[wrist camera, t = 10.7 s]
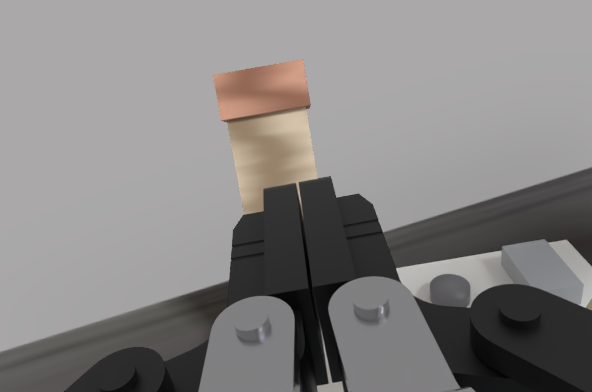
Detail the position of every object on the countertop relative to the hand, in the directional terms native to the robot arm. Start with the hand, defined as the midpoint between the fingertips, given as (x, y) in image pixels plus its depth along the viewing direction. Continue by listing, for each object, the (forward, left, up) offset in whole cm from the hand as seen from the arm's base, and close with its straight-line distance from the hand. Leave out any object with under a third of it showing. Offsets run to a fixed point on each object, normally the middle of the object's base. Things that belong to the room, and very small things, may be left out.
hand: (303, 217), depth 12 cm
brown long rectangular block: (+1, -17, -18) cm, 24 cm away
